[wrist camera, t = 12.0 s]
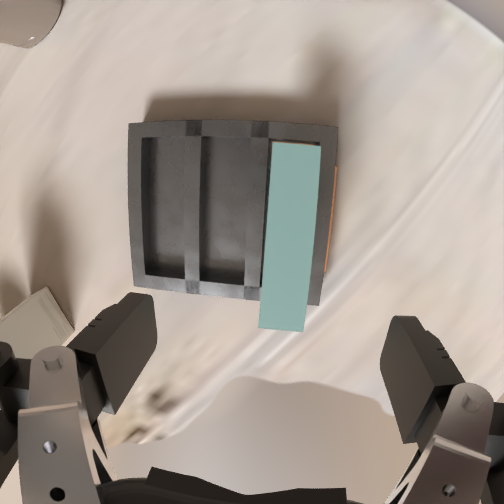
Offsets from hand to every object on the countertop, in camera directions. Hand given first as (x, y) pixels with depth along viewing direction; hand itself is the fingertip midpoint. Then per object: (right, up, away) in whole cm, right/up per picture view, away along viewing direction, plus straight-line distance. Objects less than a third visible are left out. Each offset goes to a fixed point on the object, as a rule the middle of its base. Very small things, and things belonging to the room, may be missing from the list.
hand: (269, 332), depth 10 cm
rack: (-3, +7, +21) cm, 23 cm away
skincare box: (-31, -7, +30) cm, 43 cm away
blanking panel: (+3, +5, +19) cm, 20 cm away
